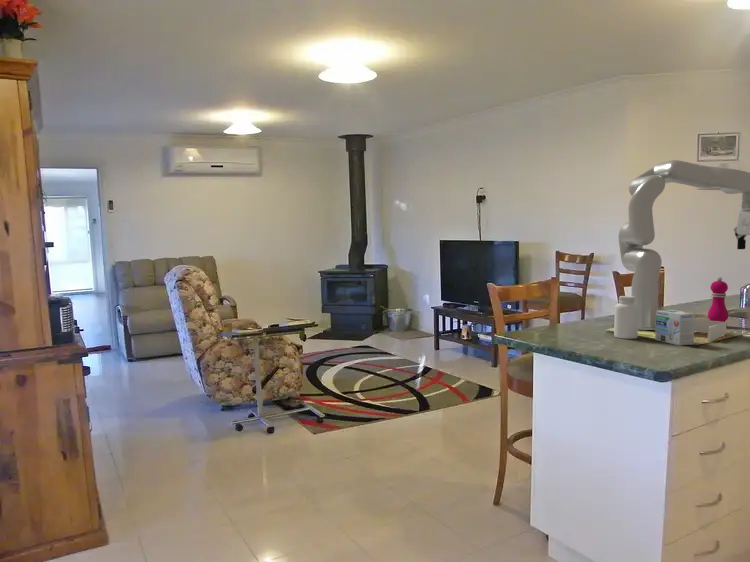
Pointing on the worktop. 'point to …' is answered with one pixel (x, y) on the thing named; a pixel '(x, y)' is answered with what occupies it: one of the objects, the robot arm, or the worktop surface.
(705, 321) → the cream bay
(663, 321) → the light bulb box
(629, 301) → the pill bottle
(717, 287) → the pepper mill
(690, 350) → the worktop surface
